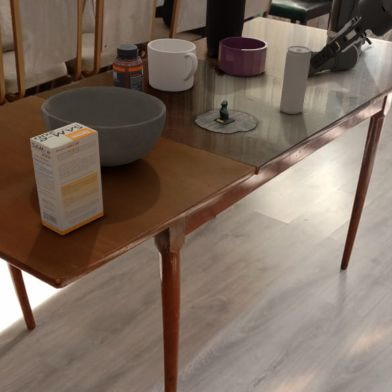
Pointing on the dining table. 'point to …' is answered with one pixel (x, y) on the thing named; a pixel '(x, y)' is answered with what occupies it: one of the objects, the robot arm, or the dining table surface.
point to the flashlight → (338, 61)
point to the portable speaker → (223, 22)
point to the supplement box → (68, 177)
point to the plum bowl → (242, 56)
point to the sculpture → (226, 120)
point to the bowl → (110, 119)
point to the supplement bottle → (128, 68)
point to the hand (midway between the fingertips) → (318, 59)
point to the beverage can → (295, 79)
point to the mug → (171, 64)
